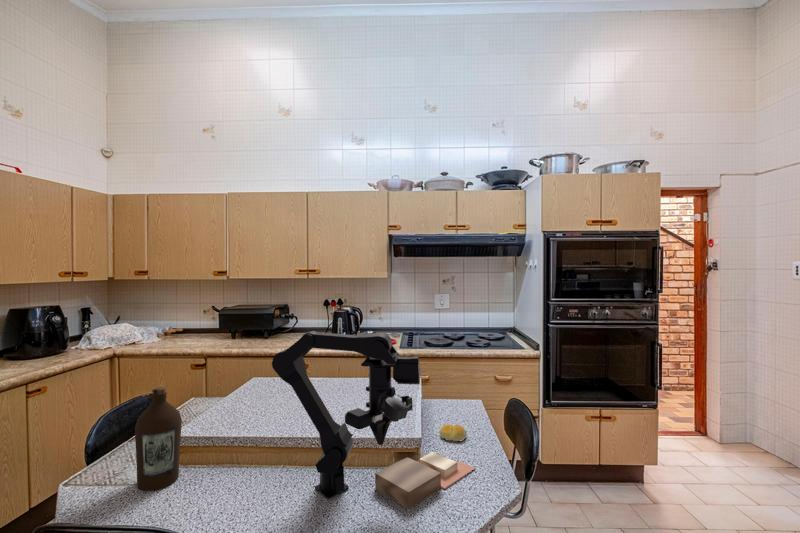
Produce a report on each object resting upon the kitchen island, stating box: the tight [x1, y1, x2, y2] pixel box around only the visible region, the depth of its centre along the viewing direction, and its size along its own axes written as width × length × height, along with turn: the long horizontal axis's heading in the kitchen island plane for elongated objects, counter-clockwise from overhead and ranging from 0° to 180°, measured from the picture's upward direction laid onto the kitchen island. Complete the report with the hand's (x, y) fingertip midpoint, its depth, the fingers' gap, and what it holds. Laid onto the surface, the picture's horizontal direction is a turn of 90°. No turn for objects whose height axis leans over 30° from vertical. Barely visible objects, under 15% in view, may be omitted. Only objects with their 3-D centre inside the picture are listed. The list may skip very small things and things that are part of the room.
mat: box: [441, 460, 476, 490], centre depth 106 cm, size 14×14×1 cm
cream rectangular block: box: [419, 451, 458, 477], centre depth 106 cm, size 9×6×2 cm, turn 47°
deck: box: [374, 457, 442, 510], centre depth 97 cm, size 12×12×4 cm
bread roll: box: [439, 423, 467, 442], centre depth 127 cm, size 8×9×4 cm
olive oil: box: [134, 386, 183, 492], centre depth 101 cm, size 11×11×25 cm
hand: (380, 444), depth 95 cm, fingers closed
